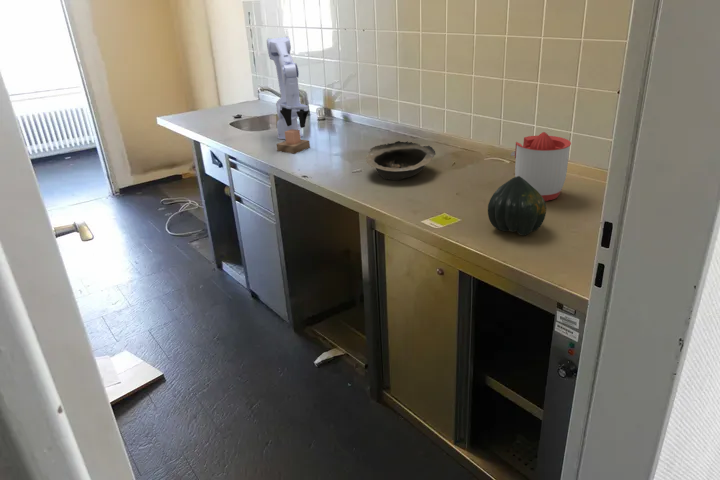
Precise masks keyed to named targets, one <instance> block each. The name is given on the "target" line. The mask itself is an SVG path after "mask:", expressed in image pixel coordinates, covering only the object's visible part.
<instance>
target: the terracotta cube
mask: <svg viewBox="0 0 720 480" xmlns="http://www.w3.org/2000/svg"><path fill="white" fill-rule="evenodd" d="M300 135H301V132H300V129H298V130H294V129H291V130H288V131H285V138H286V140H285V141H286V143H288V144H296V143H298V142H301V140H302V137H300Z"/></svg>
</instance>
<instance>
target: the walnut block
mask: <svg viewBox="0 0 720 480" xmlns="http://www.w3.org/2000/svg"><path fill="white" fill-rule="evenodd" d="M310 145H311V143H310V140H308V139H301V142H298V143H296V144H288V143H286V140H283V141H282V142H278V143H276V150H277V152H280V151H282V152H281V153H288V154H294V155H296V154H298V153H300V152H302V151H305V150H308V149H309V148H310V149H311V146H310Z"/></svg>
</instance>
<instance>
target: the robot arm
mask: <svg viewBox="0 0 720 480" xmlns="http://www.w3.org/2000/svg"><path fill="white" fill-rule="evenodd" d="M291 46H292V45H291V40H290V37H289V36H284V37H274V38H269V37H268V38H267V39H266V47H267V54H268V57H269V59H270V60H272V61H273V62H274V64H275V69H276V74H277V80H278V82H277V83H278V87H279V93H280V98H279V99H278V100H277V101H276V104H275V105H276V115H277V118H278V120H277V122H276V129H277V137H276V138H277V139H280V140H284V141H286V138H285V131H288V130H291V129H294V130H299V126H300V128H301V129H303V128H305V127H306V120H307V118H308V115H309V113H310V111H309V110H310V109H309V105H306V104H303V103H301V98H300V87H299V80H298V78H299V73H300V72H299V68H298V64H297V63H296V62H294V60H293V57H292V55H291V50H292V49H291V48H292V47H291ZM298 120H299V125H298ZM303 137H304V135H303V134H300V138H303Z"/></svg>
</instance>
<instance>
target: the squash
mask: <svg viewBox="0 0 720 480" xmlns="http://www.w3.org/2000/svg"><path fill="white" fill-rule="evenodd" d="M546 214H547V205H546V201H544V199H543V197H542V196H541V195H540V193H539V192H538V191H537V190H536V189H535V188H533V187H532V186H531V185H530V184H529V183H528V182H527V181H525V180H524V179H523V178H521V177H520V176H517V177H515V176H514V177H512V178H511V179H509V180H508V181H506V182H505V183H504V184H502V185H501V186H499V187H498V188H497V189H496V190H495V192H494V193H493V194H492V196H491V197H490V199H489V201H488V205H487V215H488V219H489V222H490V224H491V226H493V227H494V228H495V229H496V230H499V231H503V232H509V231H510V232H513V233H514V232H516V233H517V234H519V235H520V236H527V235H529V234H530V233H532V232H535V231H537V230H538V229H539V228H540V227H541V226H542V225H543V223H544V221H545V219H546Z"/></svg>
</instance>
